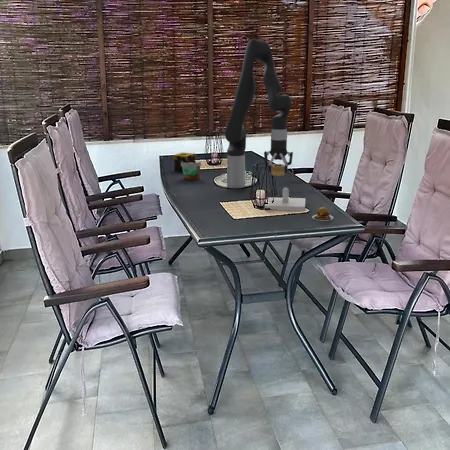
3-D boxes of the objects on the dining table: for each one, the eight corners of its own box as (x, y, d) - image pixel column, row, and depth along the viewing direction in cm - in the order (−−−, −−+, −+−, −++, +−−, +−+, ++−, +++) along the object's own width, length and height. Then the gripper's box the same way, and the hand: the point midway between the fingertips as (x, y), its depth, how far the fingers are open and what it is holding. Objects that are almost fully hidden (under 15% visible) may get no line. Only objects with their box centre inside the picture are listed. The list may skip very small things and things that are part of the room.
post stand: (264, 210, 229) (264, 190, 226) (267, 201, 242) (267, 183, 239) (304, 210, 226) (305, 191, 223) (305, 202, 239) (305, 184, 236)
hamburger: (317, 213, 223) (318, 201, 222) (342, 218, 216) (342, 206, 214) (302, 220, 215) (303, 208, 213) (327, 226, 207) (328, 213, 205)
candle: (196, 169, 316) (196, 153, 313) (187, 172, 308) (186, 156, 305) (183, 167, 321) (182, 152, 318) (173, 170, 313) (173, 154, 310)
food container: (177, 180, 288) (176, 163, 285) (182, 177, 294) (181, 160, 291) (197, 181, 284) (196, 164, 281) (201, 179, 289) (201, 162, 286)
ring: (270, 175, 242) (270, 166, 241) (271, 172, 248) (272, 163, 247) (284, 176, 241) (284, 167, 239) (285, 173, 247) (285, 164, 245)
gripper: (262, 139, 237) (262, 174, 242) (293, 140, 234) (292, 175, 239) (264, 136, 244) (264, 170, 249) (294, 137, 241) (293, 171, 246)
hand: (278, 172), depth 244 cm, fingers closed on ring, 6 cm apart
